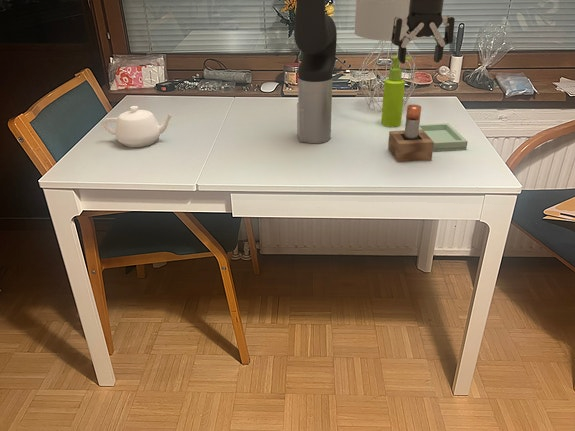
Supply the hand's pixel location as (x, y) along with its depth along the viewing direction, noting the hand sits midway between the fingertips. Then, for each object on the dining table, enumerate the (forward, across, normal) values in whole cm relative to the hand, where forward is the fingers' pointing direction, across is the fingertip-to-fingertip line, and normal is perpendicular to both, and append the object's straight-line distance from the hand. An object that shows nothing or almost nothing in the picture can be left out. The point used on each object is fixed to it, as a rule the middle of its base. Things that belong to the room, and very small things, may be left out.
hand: (419, 62), depth 129 cm
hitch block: (+24, 0, 0) cm, 24 cm away
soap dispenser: (+24, +2, +23) cm, 33 cm away
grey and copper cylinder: (+24, 0, 0) cm, 24 cm away
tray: (+24, +11, +8) cm, 27 cm away
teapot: (+25, -72, +19) cm, 78 cm away
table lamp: (+24, +4, +39) cm, 46 cm away
